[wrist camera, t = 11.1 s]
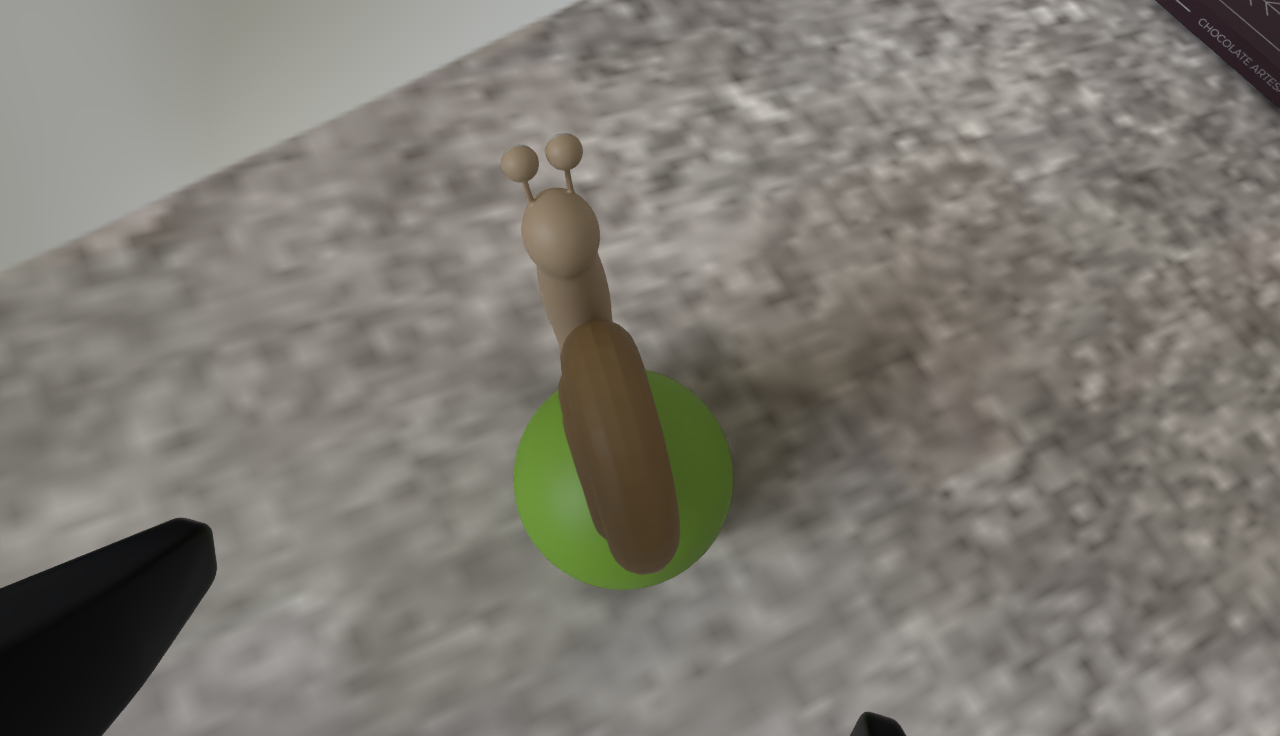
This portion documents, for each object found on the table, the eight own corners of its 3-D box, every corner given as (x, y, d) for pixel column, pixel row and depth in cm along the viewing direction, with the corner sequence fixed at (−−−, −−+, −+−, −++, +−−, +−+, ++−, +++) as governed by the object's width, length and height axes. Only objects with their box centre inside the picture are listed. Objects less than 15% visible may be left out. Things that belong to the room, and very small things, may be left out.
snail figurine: (675, 346, 22) (714, 81, 11) (747, 554, 20) (889, 508, 9) (501, 398, 22) (345, 179, 10) (559, 616, 20) (450, 653, 8)
